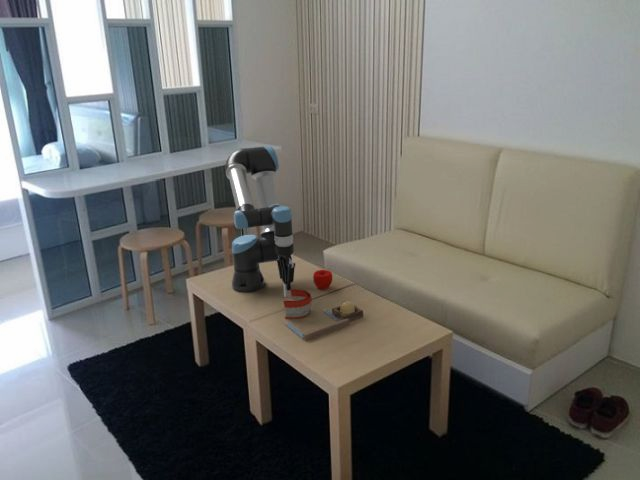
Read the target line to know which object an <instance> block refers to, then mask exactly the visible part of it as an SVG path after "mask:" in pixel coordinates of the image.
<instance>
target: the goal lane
mask: <svg viewBox="0 0 640 480" xmlns="http://www.w3.org/2000/svg"><path fill="white" fill-rule="evenodd" d="M323 313H325V314H326V315H327V316H328V317H330V318H332V319H333V320H334V321H335V322H333V323H329V324H326V325H324V326H321V327H317V328H315V329H312V330H310V331H309V330H308V331H306V332H303V331H301V330H300V329H298V328H297V327H296V326H294V325H293V324H292V323H291V322H287V323H284V325H285V327H287V328H288V329H289V330H291V331H292V332H293V333H294V334H295V335H297V336H299V337H300V338H301V340H303V341H305V342H306V341H309V340H312V339H315V338H318V337H320V336H322V335H326V334H329V333H331V332H334V331H337V330H339V329H343V328H346V327H348V326H350V322H349V319H347V318H346V319H343V320H340V319H338V318H337V317H335V316H334V315H332V311H330V310H328V309H326V310H323Z"/></svg>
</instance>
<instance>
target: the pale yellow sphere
mask: <svg viewBox="0 0 640 480" xmlns="http://www.w3.org/2000/svg"><path fill="white" fill-rule="evenodd" d="M339 306H340V312H342V313H343V314H345V315H347V314H350V313H353V312H355V307H354V303H353V302H351V301H348V300H346V301H343V302H342V303H341V304H340V305H339Z"/></svg>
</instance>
